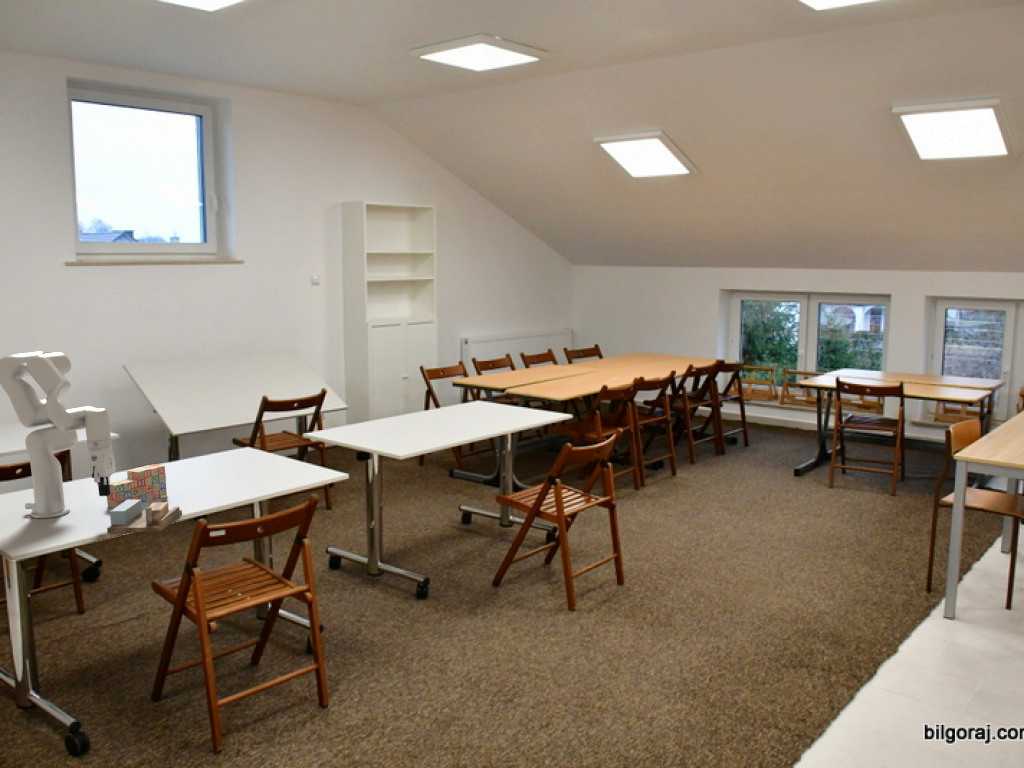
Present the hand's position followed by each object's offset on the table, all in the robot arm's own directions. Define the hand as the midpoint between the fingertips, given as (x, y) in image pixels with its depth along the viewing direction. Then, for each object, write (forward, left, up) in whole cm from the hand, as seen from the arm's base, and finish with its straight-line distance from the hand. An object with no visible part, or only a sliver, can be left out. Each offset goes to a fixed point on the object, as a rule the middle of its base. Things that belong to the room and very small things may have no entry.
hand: (104, 495), depth 300 cm
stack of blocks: (-1, +28, -11) cm, 30 cm away
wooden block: (+18, 0, -9) cm, 20 cm away
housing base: (+13, 0, -10) cm, 17 cm away
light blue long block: (+7, 0, -9) cm, 11 cm away
